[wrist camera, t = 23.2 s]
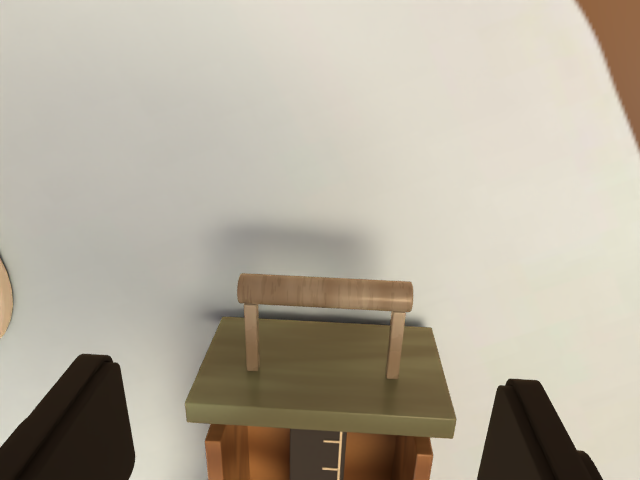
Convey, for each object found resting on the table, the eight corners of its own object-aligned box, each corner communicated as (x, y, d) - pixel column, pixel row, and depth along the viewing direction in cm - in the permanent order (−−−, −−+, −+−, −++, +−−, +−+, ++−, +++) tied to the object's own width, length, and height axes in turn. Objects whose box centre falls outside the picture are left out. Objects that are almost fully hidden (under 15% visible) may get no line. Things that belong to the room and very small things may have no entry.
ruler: (297, 368, 29) (289, 419, 25) (347, 371, 29) (347, 422, 25) (295, 495, 33) (288, 554, 30) (339, 498, 33) (338, 558, 29)
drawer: (216, 234, 27) (173, 303, 20) (443, 244, 26) (475, 319, 20) (235, 516, 36) (209, 628, 29) (403, 528, 36) (415, 644, 29)
